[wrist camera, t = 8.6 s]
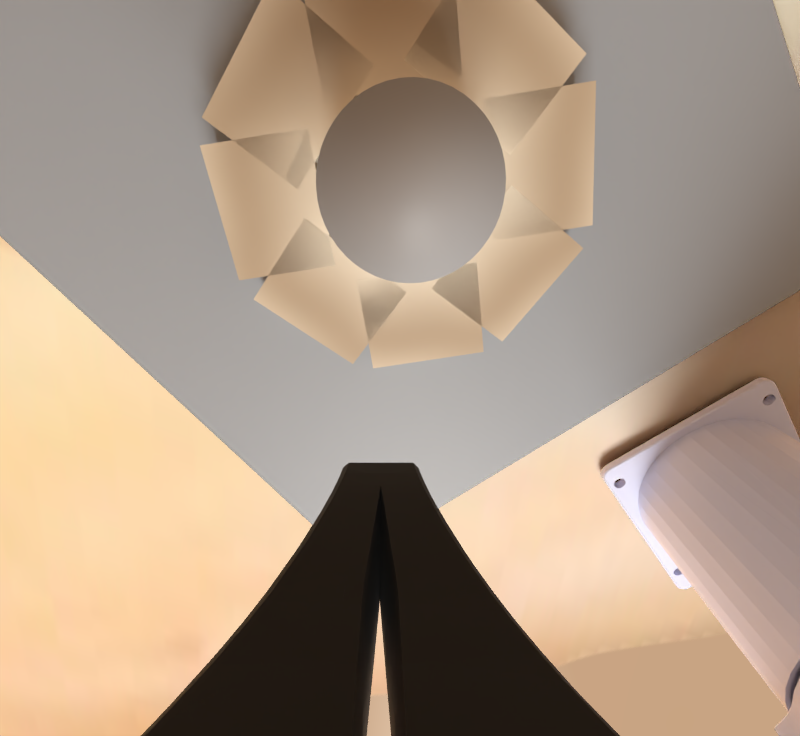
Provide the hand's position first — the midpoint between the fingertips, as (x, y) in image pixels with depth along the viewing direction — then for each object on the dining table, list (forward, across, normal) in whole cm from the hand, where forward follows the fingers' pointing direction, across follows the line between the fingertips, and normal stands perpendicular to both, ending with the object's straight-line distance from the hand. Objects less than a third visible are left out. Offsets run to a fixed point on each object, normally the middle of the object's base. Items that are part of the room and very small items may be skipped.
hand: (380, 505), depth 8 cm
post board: (+10, -1, -6) cm, 11 cm away
